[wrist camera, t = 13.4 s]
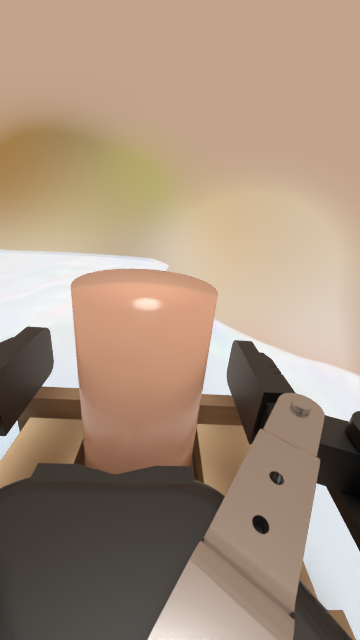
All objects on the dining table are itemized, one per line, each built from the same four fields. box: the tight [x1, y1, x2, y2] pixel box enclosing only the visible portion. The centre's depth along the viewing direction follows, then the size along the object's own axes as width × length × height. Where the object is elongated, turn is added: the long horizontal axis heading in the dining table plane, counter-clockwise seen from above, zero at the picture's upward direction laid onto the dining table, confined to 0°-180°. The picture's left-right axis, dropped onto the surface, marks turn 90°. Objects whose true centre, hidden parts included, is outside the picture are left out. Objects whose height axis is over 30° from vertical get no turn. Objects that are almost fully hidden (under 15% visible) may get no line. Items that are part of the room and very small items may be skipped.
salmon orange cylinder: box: [71, 269, 218, 474], centre depth 11 cm, size 5×5×12 cm
